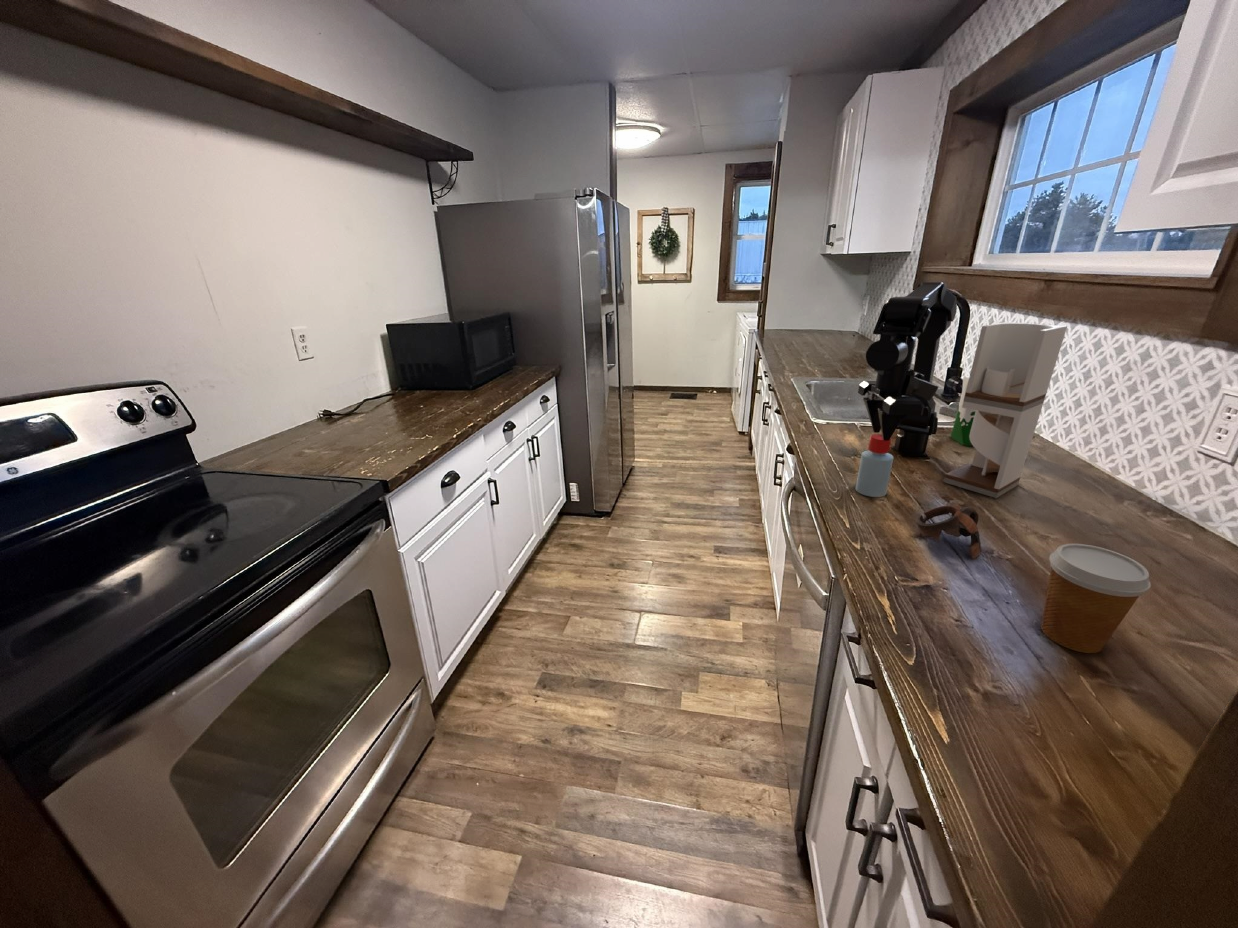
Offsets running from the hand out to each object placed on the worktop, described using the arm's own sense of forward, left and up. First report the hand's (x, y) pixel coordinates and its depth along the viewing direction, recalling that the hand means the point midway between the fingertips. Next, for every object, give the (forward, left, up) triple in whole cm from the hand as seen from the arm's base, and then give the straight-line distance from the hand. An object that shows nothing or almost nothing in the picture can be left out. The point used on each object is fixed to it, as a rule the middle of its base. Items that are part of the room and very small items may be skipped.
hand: (881, 436), depth 105 cm
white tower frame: (-26, -6, -13) cm, 30 cm away
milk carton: (-39, -36, -13) cm, 55 cm away
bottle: (0, 0, -13) cm, 13 cm away
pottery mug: (-6, +22, -13) cm, 26 cm away
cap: (0, 0, -3) cm, 3 cm away
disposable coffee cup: (-10, +46, -13) cm, 49 cm away
